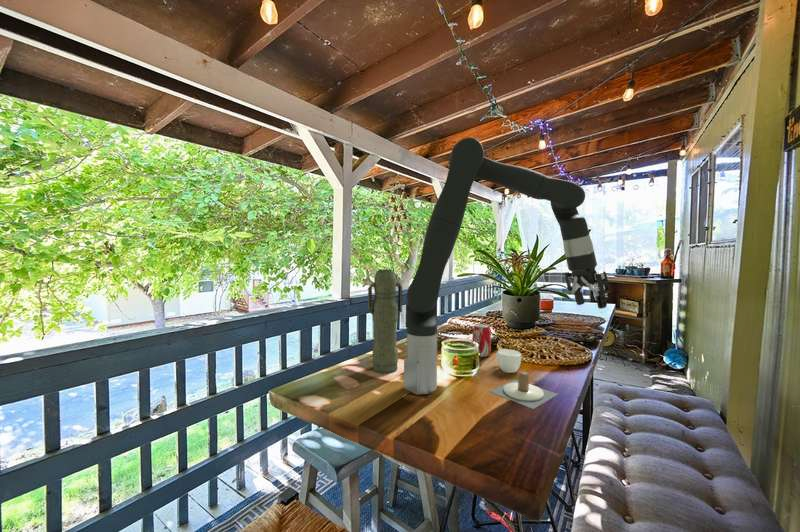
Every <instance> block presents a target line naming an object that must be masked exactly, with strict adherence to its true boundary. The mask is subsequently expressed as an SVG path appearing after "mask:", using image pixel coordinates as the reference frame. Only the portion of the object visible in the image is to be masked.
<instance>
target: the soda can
mask: <svg viewBox="0 0 800 532" xmlns="http://www.w3.org/2000/svg"><path fill="white" fill-rule="evenodd" d="M473 341H475V342H477V343H478V344H479V353H480V357H479V358H487V357H488V356H490V355H491V351H492V350H491V349H492V348H491V347H492V346H491V345H492V330H491V328H490V325H489V324H486V323H475V324H474V325H473V328H472V342H473Z"/></svg>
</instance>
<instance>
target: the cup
mask: <svg viewBox="0 0 800 532" xmlns="http://www.w3.org/2000/svg"><path fill="white" fill-rule="evenodd" d="M495 358H496V361H497V363H498V366H499V368H500V370H501V371H503V372H504V373H508V374H509V373H511V374H512V373H513V374H515V373H517V371H518V370H519V368H520V366H521V362H522V353H521V352H520V351H518V350H515V349H508V348H507V349H506V348H505V349H499V350H497V352H496V353H495Z"/></svg>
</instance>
